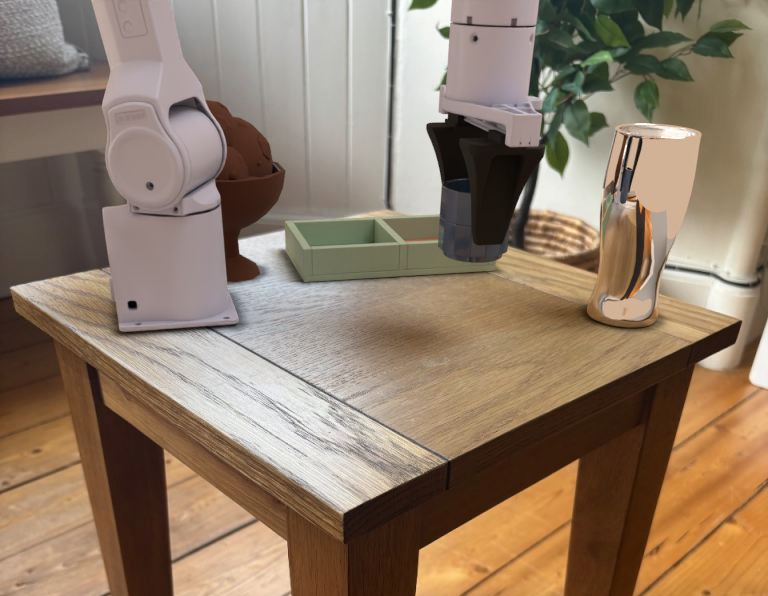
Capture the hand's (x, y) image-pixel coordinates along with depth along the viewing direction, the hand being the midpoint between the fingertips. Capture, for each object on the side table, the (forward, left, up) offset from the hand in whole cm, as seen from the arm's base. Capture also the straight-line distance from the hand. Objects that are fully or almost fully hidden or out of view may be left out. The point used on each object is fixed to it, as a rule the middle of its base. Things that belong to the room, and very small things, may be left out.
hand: (474, 232), depth 62 cm
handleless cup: (0, 0, -2) cm, 2 cm away
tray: (-1, +21, -8) cm, 23 cm away
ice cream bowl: (-17, +20, -9) cm, 27 cm away
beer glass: (+15, +2, -9) cm, 18 cm away
